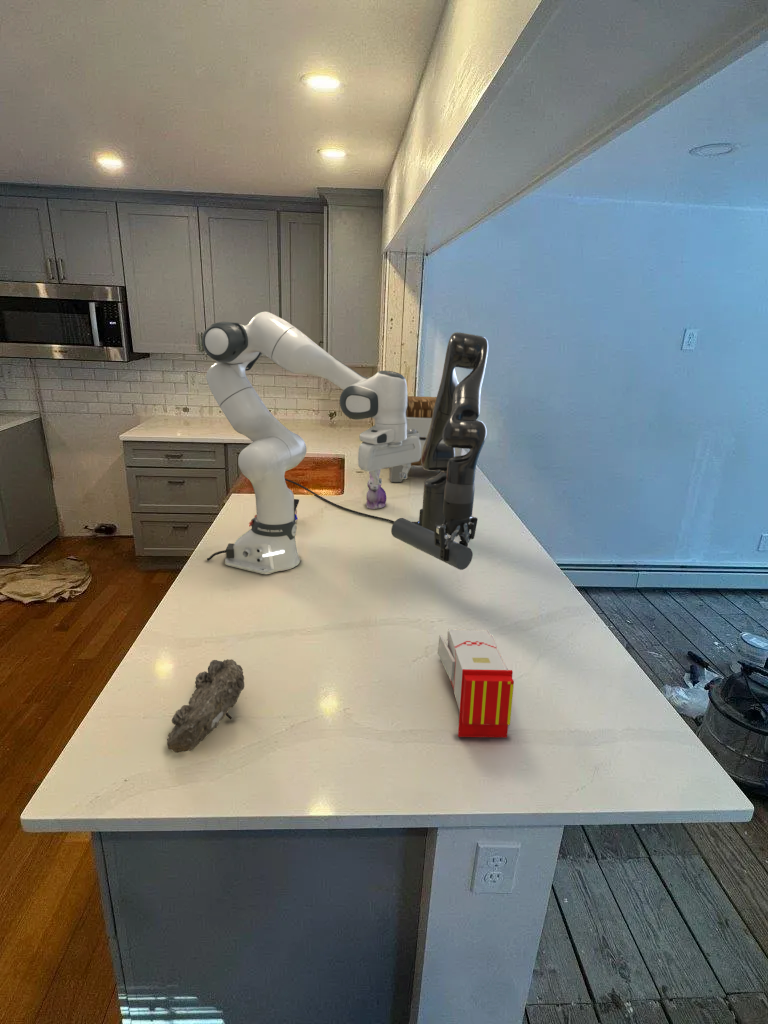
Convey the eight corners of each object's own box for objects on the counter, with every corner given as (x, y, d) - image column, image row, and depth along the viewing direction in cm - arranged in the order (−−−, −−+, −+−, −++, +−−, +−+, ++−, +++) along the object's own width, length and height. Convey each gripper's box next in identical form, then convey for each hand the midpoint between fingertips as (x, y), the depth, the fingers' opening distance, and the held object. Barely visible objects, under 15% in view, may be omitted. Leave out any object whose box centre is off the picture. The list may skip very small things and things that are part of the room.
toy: (488, 613, 130) (523, 677, 101) (484, 667, 133) (517, 744, 104) (435, 612, 130) (455, 676, 101) (432, 666, 133) (451, 743, 103)
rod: (471, 566, 150) (473, 545, 147) (455, 572, 146) (457, 550, 144) (406, 535, 168) (407, 515, 166) (390, 539, 164) (391, 520, 162)
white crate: (382, 463, 289) (386, 382, 275) (445, 464, 293) (451, 384, 279) (390, 482, 257) (394, 392, 243) (460, 483, 261) (468, 394, 247)
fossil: (192, 660, 117) (244, 628, 112) (224, 691, 120) (276, 661, 115) (142, 746, 98) (202, 712, 93) (182, 779, 101) (242, 748, 96)
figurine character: (295, 534, 198) (300, 515, 212) (294, 515, 195) (299, 497, 208) (275, 534, 198) (282, 514, 212) (275, 514, 195) (281, 496, 208)
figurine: (370, 511, 220) (372, 474, 215) (359, 503, 229) (360, 467, 224) (392, 508, 224) (394, 471, 219) (380, 500, 233) (381, 465, 228)
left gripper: (411, 426, 162) (410, 473, 167) (354, 435, 150) (355, 485, 155) (426, 429, 158) (425, 477, 162) (369, 439, 145) (369, 490, 150)
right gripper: (467, 489, 151) (461, 547, 157) (428, 498, 142) (423, 559, 148) (488, 497, 146) (482, 556, 152) (449, 507, 137) (444, 569, 143)
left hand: (390, 481), depth 158 cm, fingers open, 8 cm apart
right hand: (453, 557), depth 150 cm, fingers closed on rod, 6 cm apart
